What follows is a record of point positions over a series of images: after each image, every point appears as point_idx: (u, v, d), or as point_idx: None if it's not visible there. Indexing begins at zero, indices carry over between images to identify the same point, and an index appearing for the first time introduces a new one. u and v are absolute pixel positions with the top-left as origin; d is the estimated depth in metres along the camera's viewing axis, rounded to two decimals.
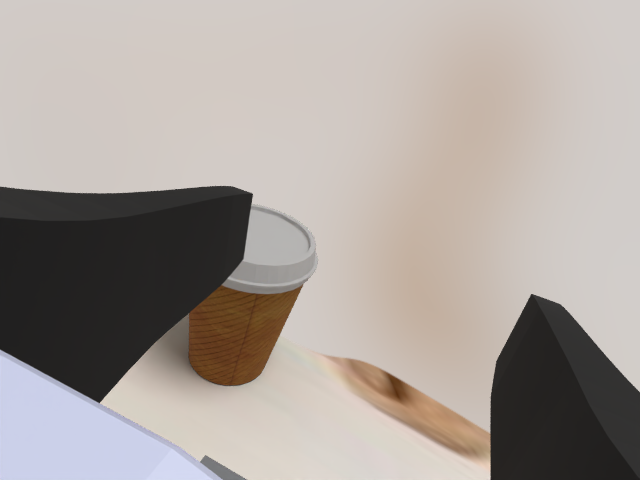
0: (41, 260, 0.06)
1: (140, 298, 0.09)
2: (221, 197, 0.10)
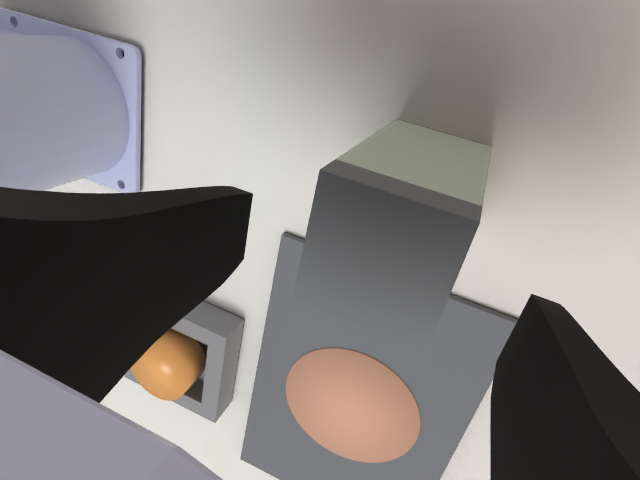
0: (41, 260, 0.06)
1: (140, 298, 0.09)
2: (221, 197, 0.10)
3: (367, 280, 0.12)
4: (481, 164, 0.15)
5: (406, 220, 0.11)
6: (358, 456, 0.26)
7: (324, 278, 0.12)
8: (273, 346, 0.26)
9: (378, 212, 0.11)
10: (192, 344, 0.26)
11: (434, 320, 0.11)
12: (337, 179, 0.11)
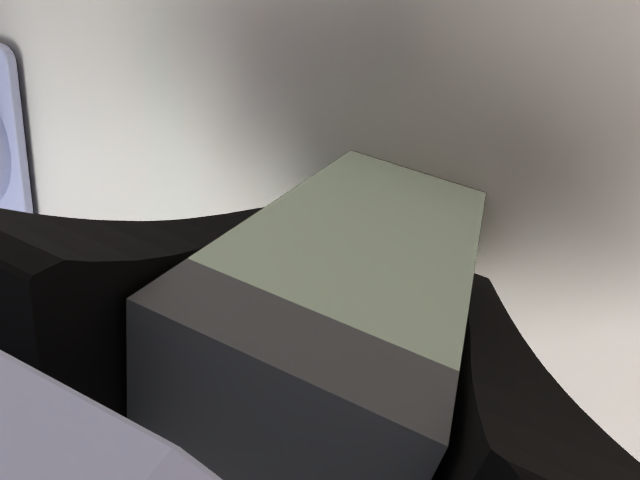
0: None
1: None
2: None
3: None
4: (467, 236, 0.09)
5: (296, 414, 0.05)
6: None
7: None
8: None
9: (242, 390, 0.05)
10: None
11: None
12: (161, 321, 0.05)
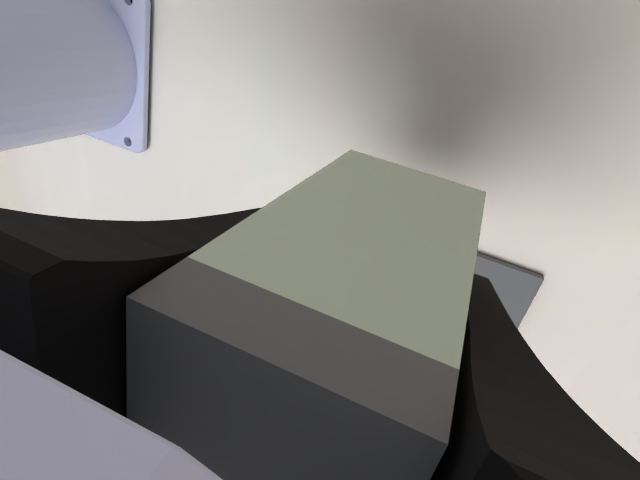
0: None
1: None
2: None
3: None
4: (467, 235, 0.09)
5: (296, 412, 0.05)
6: None
7: None
8: None
9: (242, 388, 0.05)
10: None
11: None
12: (160, 319, 0.05)
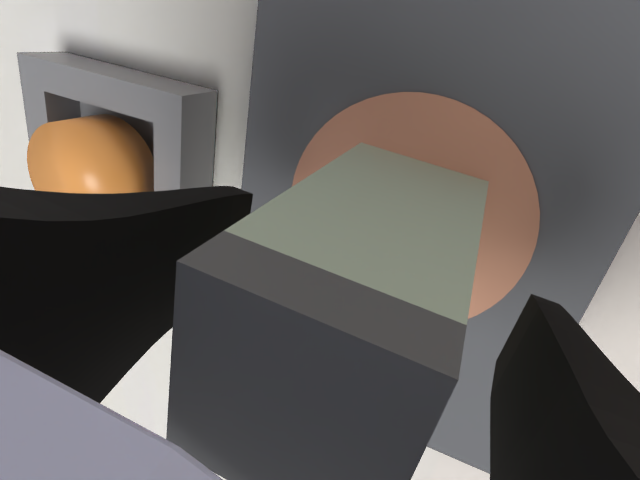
0: (42, 260, 0.06)
1: (140, 298, 0.09)
2: (221, 197, 0.10)
3: (272, 440, 0.07)
4: (472, 218, 0.10)
5: (326, 358, 0.06)
6: None
7: (207, 426, 0.07)
8: (267, 126, 0.15)
9: (278, 340, 0.06)
10: (131, 135, 0.16)
11: None
12: (207, 280, 0.06)
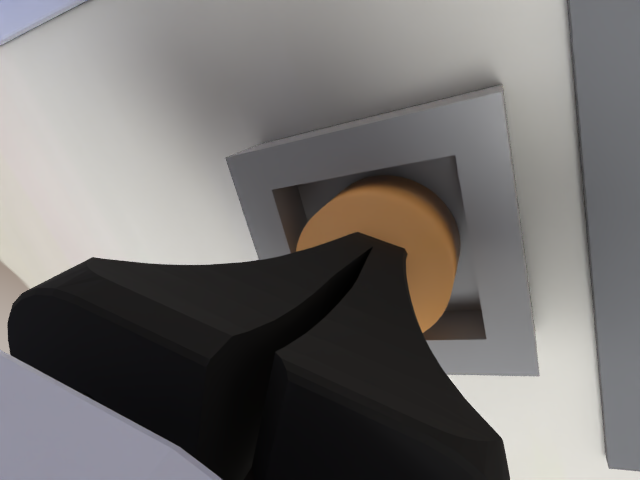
0: (263, 362, 0.05)
1: None
2: (365, 250, 0.09)
3: None
4: None
5: None
6: None
7: None
8: (617, 89, 0.10)
9: None
10: (415, 186, 0.11)
11: None
12: None
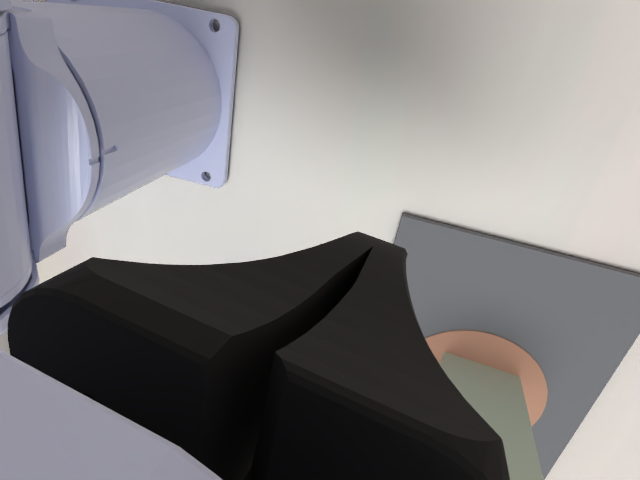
0: (262, 362, 0.05)
1: None
2: (365, 250, 0.09)
3: None
4: (526, 427, 0.20)
5: None
6: None
7: None
8: None
9: None
10: None
11: None
12: None
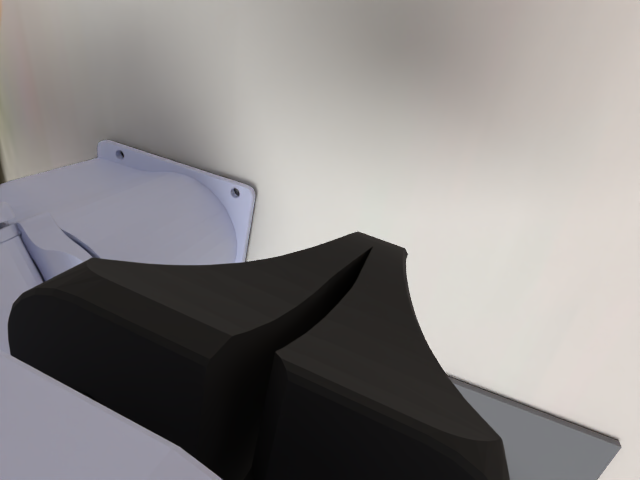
0: (262, 362, 0.05)
1: None
2: (365, 250, 0.09)
3: None
4: None
5: None
6: None
7: None
8: None
9: None
10: None
11: None
12: None
